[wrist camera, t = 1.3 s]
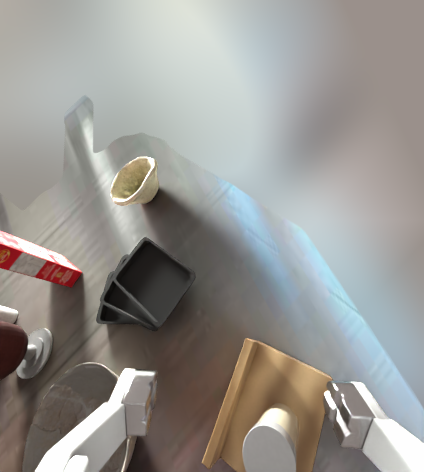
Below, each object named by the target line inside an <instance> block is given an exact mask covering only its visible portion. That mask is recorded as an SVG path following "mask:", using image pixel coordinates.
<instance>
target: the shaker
mask: <svg viewBox="0 0 424 472" xmlns="http://www.w3.org/2000/svg"><path fill="white" fill-rule="evenodd" d="M298 439H299V423H298V420H297V417H296V415H295V414H294V412H293V411H292V410H291V409H290V408H289V407H288V406H286V405H284V404H282V403H274V404H272V405H270V406H269V407H268V408H267V410H266V411H265V413H264V414H263V415H262V417H261V418H260V419H259V421H258V422H257V423H256V424H255V425H254V426H253V427H252V428H251V430H250V431H249V432H248V434H247V436H246V438H245V440H244V444H243V462H244V466H245V469H246V472H296V468H297V448H298Z"/></svg>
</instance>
